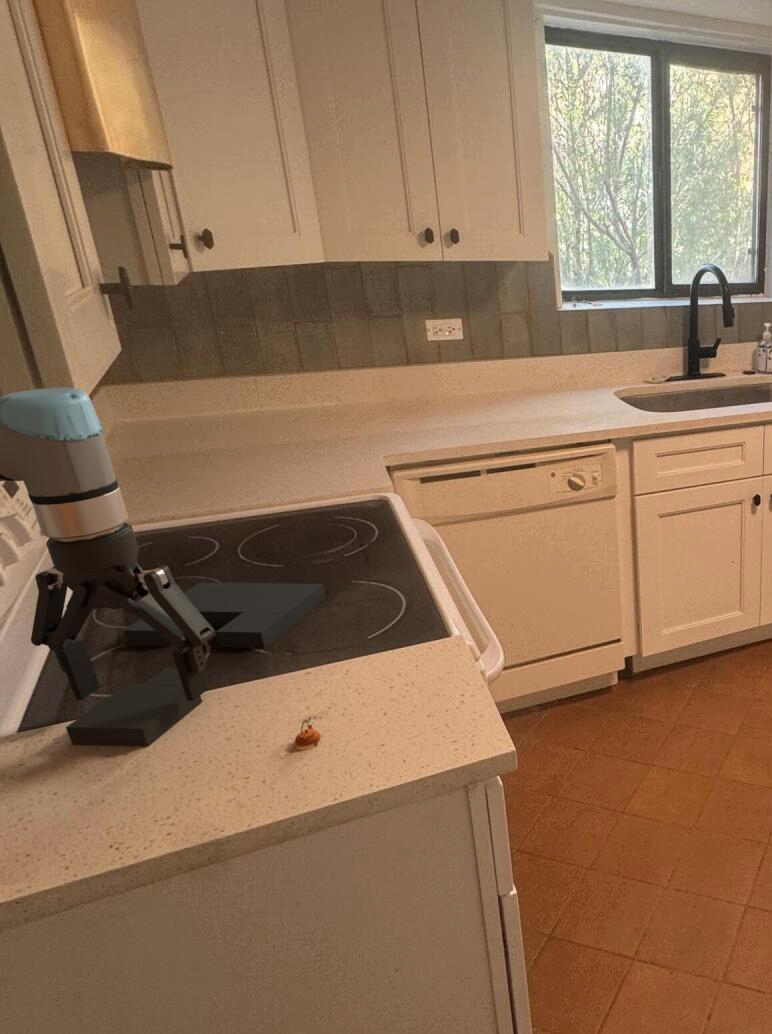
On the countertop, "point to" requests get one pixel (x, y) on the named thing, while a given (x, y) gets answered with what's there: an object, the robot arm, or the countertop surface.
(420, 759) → the countertop surface
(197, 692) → the robot arm
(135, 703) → the pad
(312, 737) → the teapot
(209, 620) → the notch pad
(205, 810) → the countertop surface
